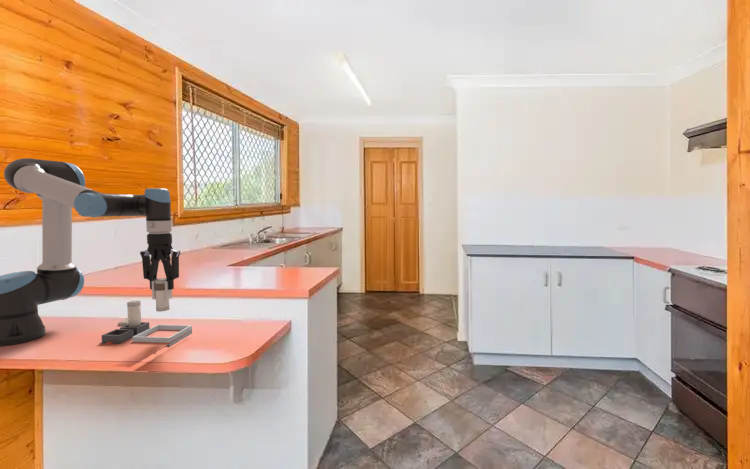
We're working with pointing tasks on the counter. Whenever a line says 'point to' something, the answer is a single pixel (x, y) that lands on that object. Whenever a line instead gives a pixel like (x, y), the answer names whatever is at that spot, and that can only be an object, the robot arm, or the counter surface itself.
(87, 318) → the counter surface
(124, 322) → the coral
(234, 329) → the counter surface
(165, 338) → the grey square frame
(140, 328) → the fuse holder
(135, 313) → the cylinder
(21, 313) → the robot arm
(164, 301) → the cylinder
